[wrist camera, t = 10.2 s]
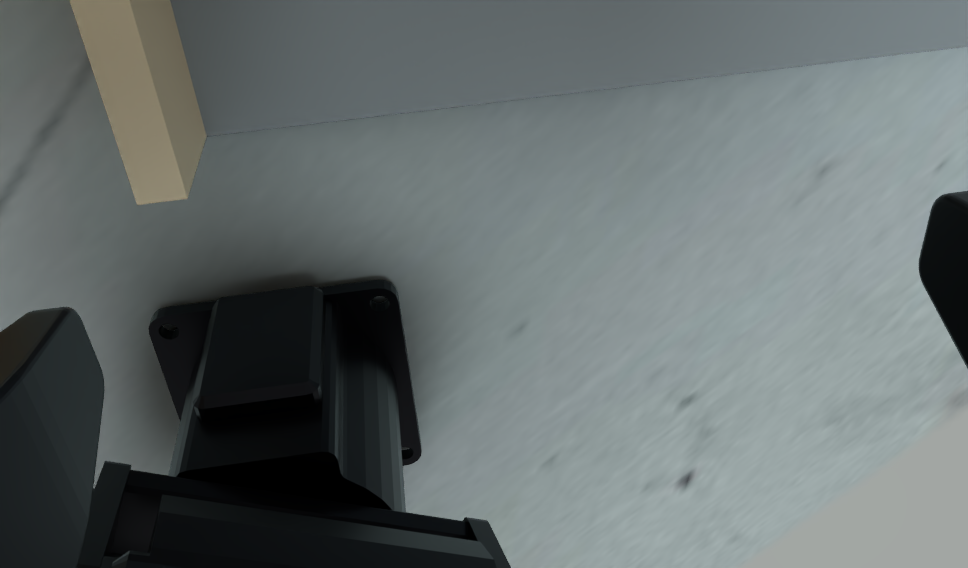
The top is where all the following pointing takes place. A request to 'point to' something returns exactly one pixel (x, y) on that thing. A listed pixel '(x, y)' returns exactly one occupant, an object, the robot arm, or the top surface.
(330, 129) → the top surface
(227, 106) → the board
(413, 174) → the top surface
